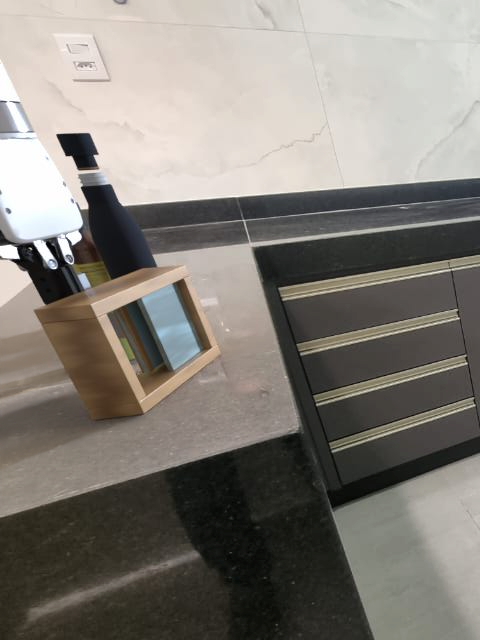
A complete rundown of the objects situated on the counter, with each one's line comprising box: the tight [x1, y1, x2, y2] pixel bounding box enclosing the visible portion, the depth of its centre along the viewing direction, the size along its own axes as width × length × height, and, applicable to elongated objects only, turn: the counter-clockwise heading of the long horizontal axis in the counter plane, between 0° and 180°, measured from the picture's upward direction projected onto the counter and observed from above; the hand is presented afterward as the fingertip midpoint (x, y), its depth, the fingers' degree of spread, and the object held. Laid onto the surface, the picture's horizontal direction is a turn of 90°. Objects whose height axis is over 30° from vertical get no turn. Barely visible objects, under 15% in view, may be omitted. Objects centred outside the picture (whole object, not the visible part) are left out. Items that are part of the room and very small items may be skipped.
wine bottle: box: [55, 132, 158, 280], centre depth 88 cm, size 6×6×30 cm
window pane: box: [77, 273, 164, 373], centre depth 66 cm, size 4×8×13 cm, turn 13°
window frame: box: [33, 264, 222, 421], centre depth 65 cm, size 5×18×13 cm, turn 13°
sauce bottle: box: [69, 201, 111, 288], centre depth 90 cm, size 7×6×20 cm
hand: (67, 302), depth 59 cm, fingers closed
